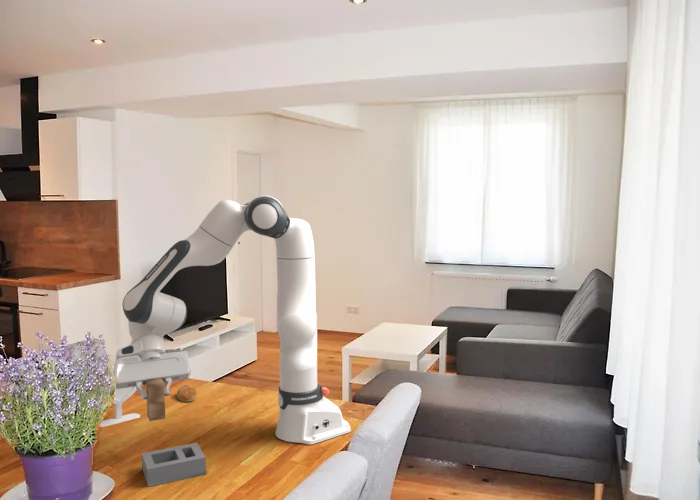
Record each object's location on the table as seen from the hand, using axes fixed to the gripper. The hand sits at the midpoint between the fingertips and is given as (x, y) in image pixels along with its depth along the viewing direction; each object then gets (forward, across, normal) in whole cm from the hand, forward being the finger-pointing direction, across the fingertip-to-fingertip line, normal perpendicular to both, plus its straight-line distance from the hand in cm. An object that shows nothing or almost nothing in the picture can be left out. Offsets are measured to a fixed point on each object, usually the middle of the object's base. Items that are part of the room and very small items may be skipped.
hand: (155, 396), depth 160 cm
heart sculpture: (-12, +7, -36) cm, 39 cm away
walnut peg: (+4, 0, -5) cm, 6 cm away
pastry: (-19, -17, -44) cm, 51 cm away
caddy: (+19, -2, -5) cm, 20 cm away
